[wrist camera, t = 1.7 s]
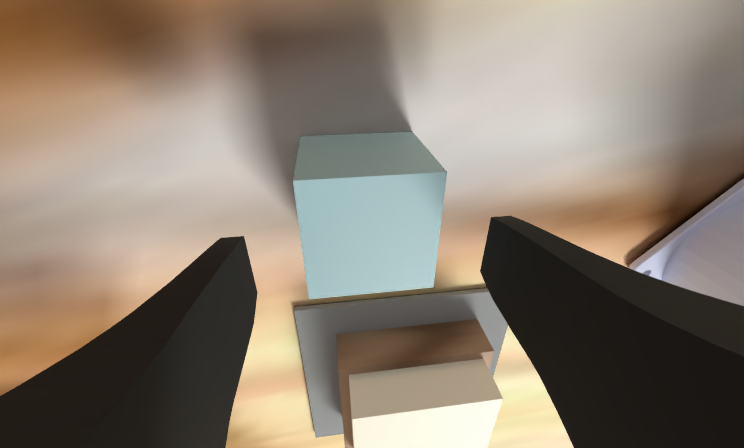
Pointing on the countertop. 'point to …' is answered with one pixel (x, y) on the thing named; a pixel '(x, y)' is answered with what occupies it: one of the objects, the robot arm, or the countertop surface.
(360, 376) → the cream slab
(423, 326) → the walnut slab
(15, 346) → the countertop surface
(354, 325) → the slate mat
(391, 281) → the teal cube
